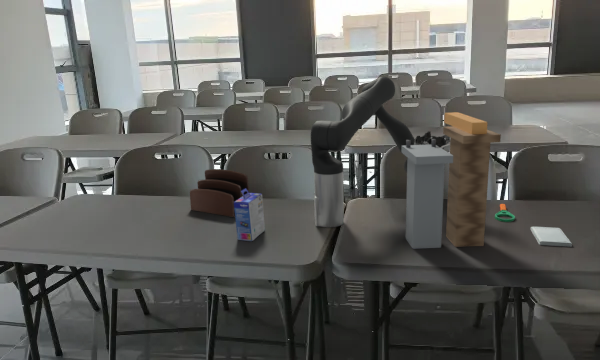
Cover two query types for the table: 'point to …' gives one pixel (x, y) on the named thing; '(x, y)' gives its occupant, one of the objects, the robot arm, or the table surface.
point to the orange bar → (466, 123)
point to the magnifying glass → (504, 214)
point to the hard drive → (550, 236)
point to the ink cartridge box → (249, 216)
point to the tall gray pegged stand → (425, 193)
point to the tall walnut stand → (468, 186)
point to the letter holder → (218, 192)
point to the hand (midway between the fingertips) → (443, 133)
